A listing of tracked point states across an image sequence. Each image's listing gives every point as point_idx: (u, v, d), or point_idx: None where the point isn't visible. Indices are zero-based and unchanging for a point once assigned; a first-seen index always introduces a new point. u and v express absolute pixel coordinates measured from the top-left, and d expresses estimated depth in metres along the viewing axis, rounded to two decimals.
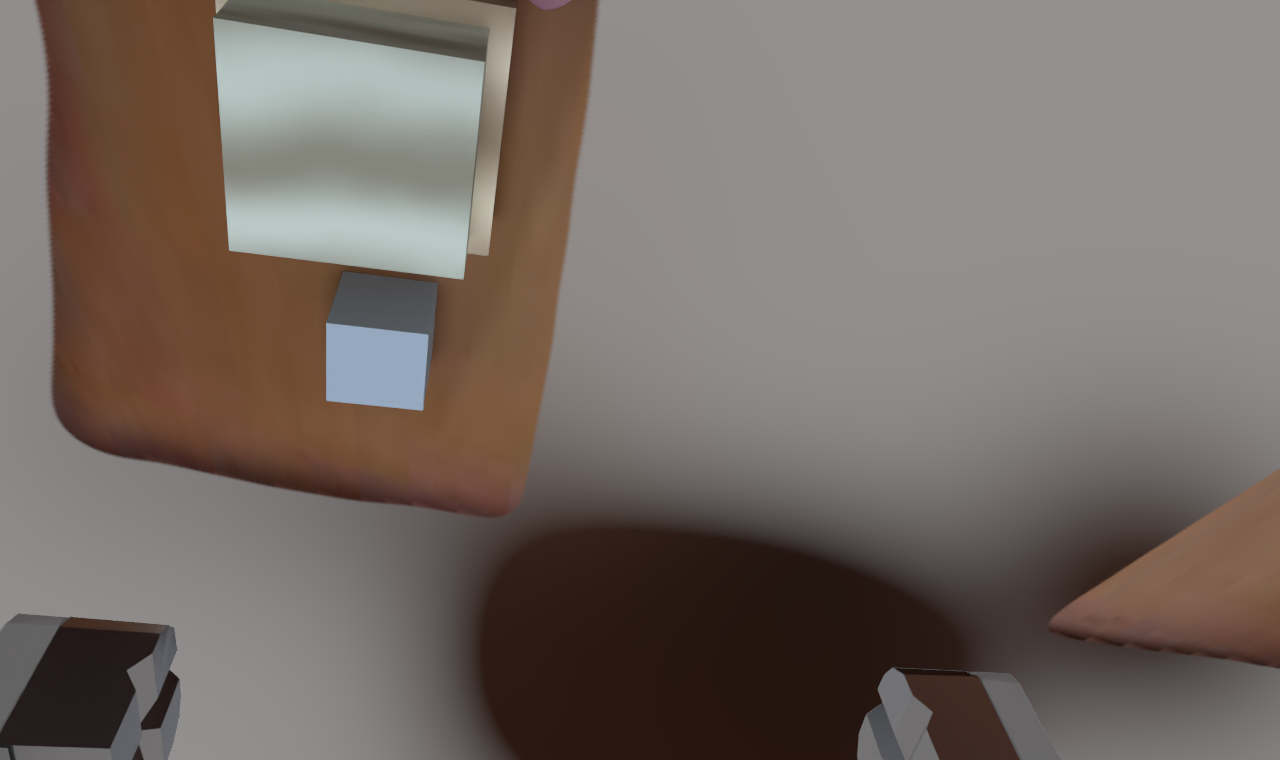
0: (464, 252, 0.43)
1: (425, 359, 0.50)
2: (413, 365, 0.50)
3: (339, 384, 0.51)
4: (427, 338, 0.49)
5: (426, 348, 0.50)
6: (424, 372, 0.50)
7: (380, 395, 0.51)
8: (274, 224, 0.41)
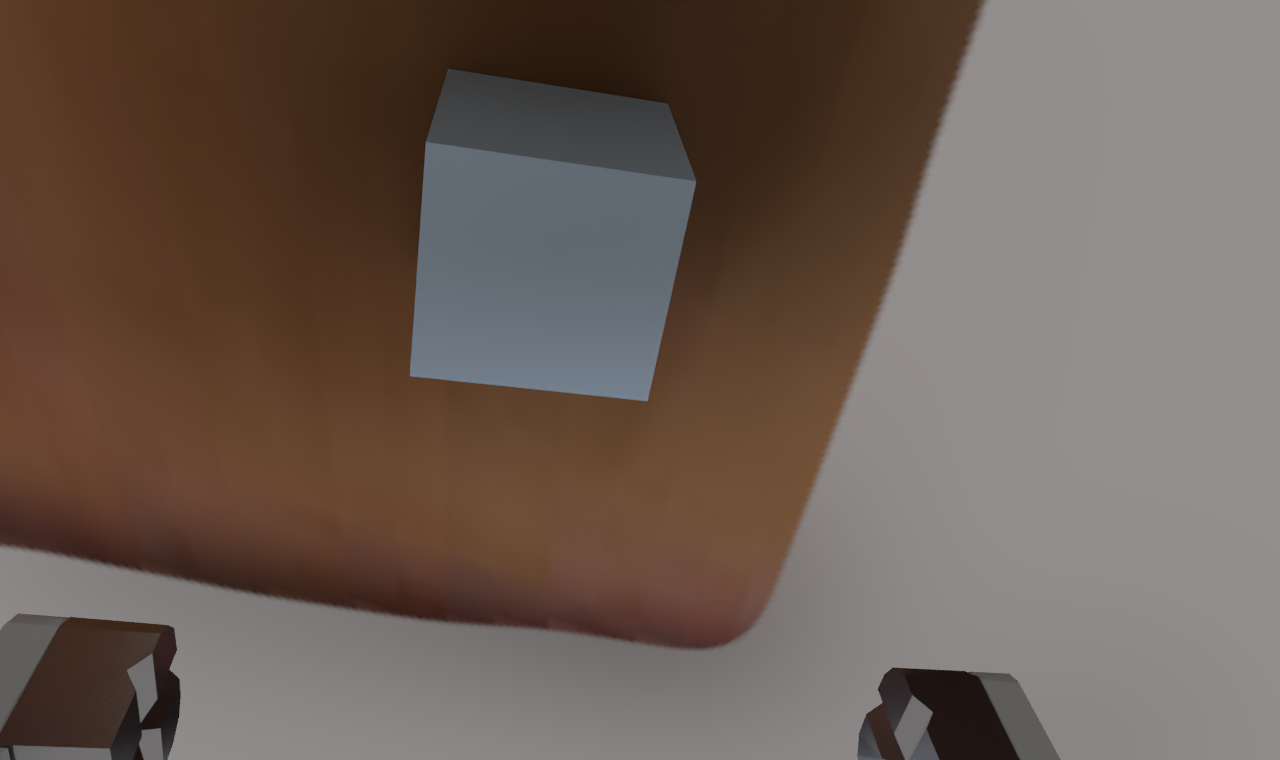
0: None
1: (676, 256, 0.19)
2: (644, 273, 0.19)
3: (446, 330, 0.19)
4: (690, 194, 0.18)
5: (684, 223, 0.19)
6: (668, 295, 0.19)
7: (549, 359, 0.20)
8: None
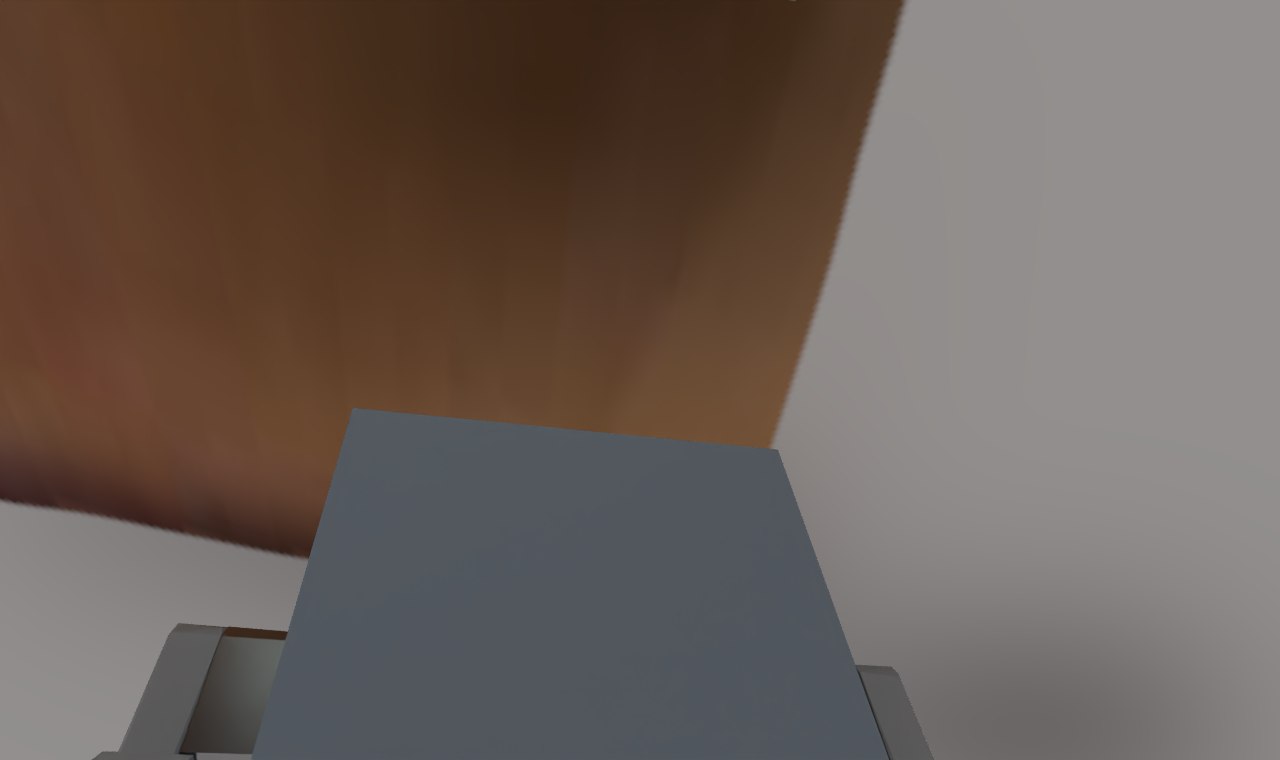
0: None
1: None
2: None
3: None
4: None
5: None
6: None
7: None
8: None
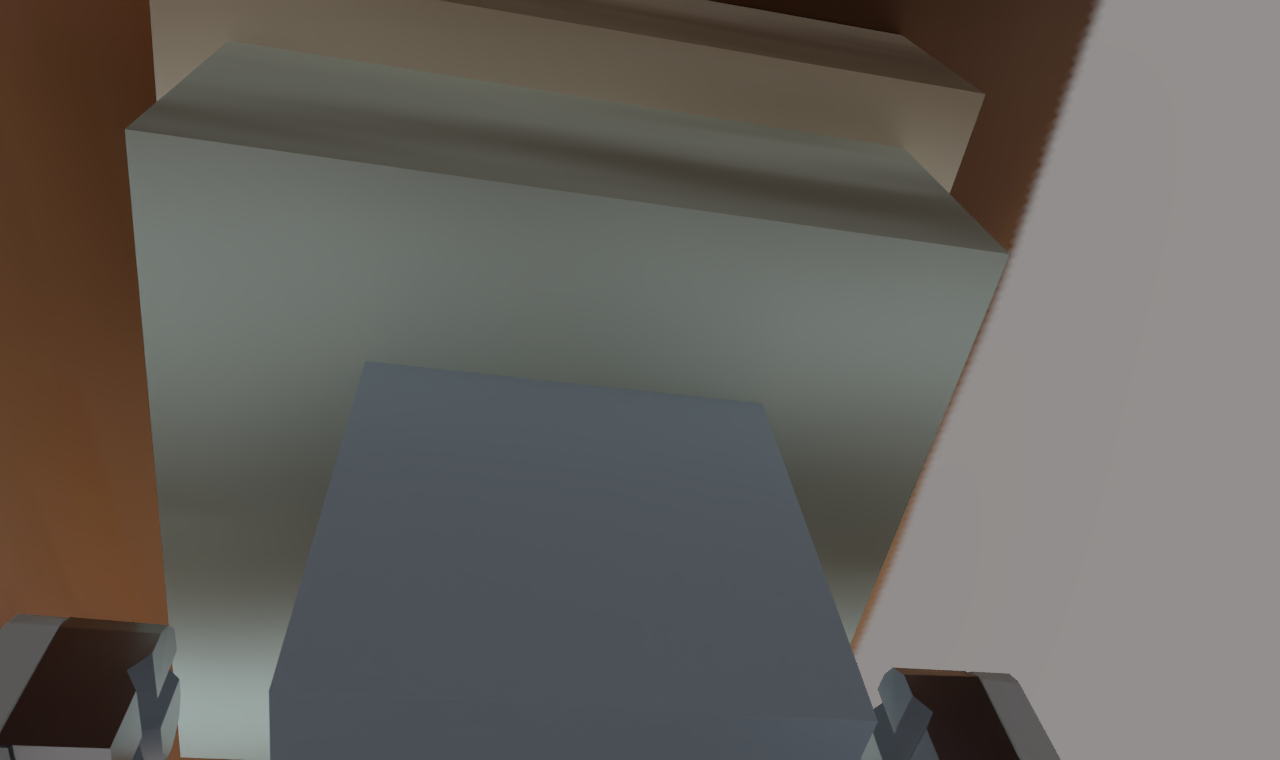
0: None
1: None
2: None
3: None
4: (861, 737, 0.09)
5: None
6: None
7: None
8: None
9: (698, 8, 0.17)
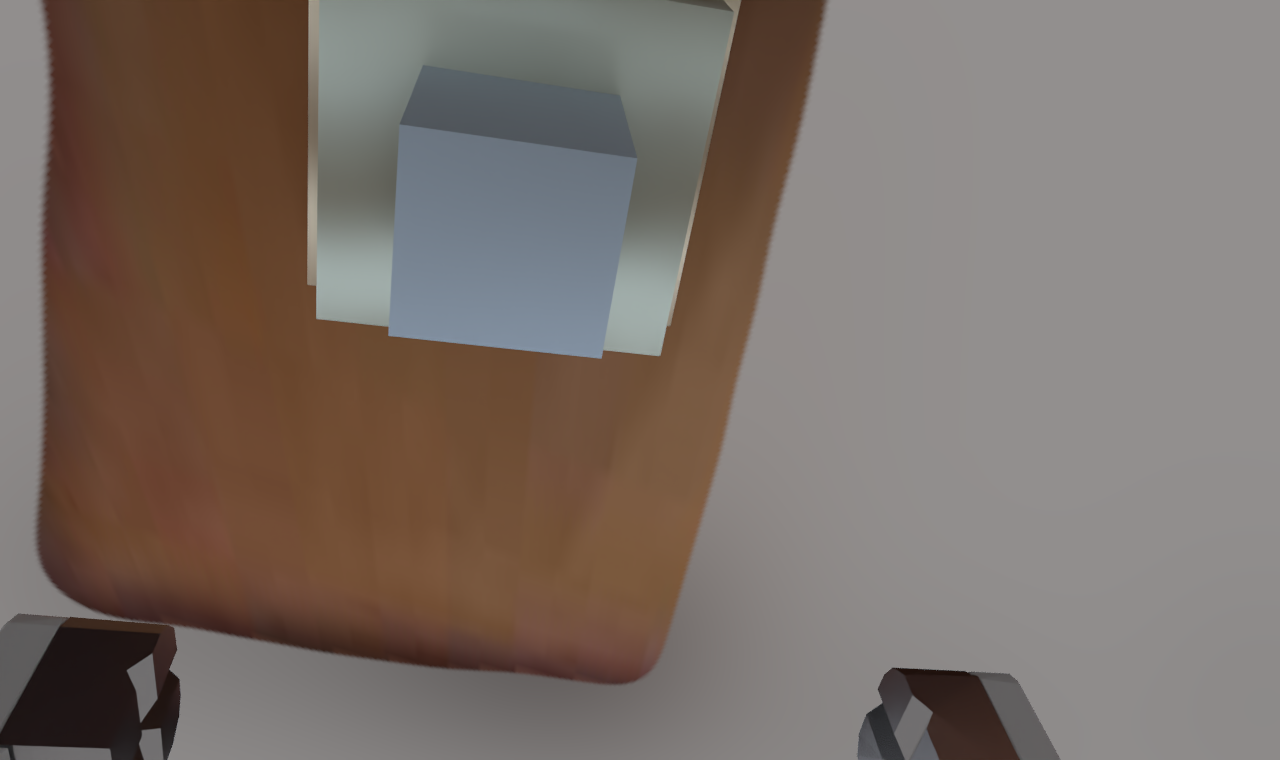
0: (666, 315, 0.29)
1: (622, 226, 0.22)
2: (594, 241, 0.22)
3: (420, 293, 0.22)
4: (632, 169, 0.21)
5: (628, 196, 0.21)
6: (616, 260, 0.22)
7: (512, 320, 0.23)
8: (388, 276, 0.27)
9: None
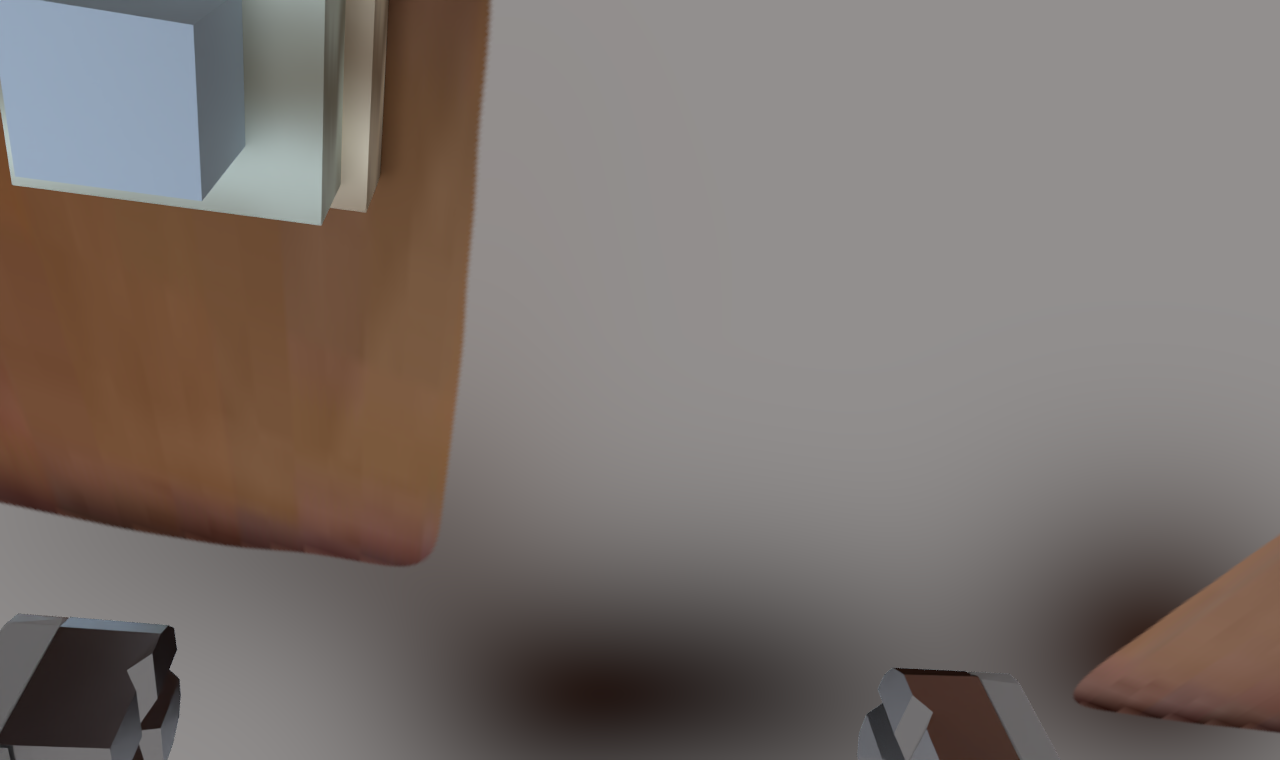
0: (319, 187, 0.34)
1: (193, 83, 0.27)
2: (172, 96, 0.27)
3: (35, 139, 0.27)
4: (192, 35, 0.26)
5: (192, 57, 0.26)
6: (195, 114, 0.27)
7: (118, 165, 0.28)
8: None
9: None
